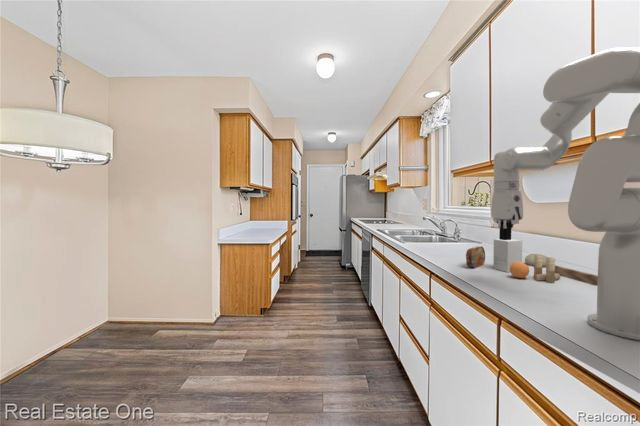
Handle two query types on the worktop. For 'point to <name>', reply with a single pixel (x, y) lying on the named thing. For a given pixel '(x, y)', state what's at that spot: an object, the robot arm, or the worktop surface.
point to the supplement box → (507, 253)
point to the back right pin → (550, 270)
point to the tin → (475, 257)
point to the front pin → (544, 277)
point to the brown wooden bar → (577, 275)
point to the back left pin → (538, 264)
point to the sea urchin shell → (530, 260)
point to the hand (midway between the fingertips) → (505, 239)
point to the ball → (519, 269)
